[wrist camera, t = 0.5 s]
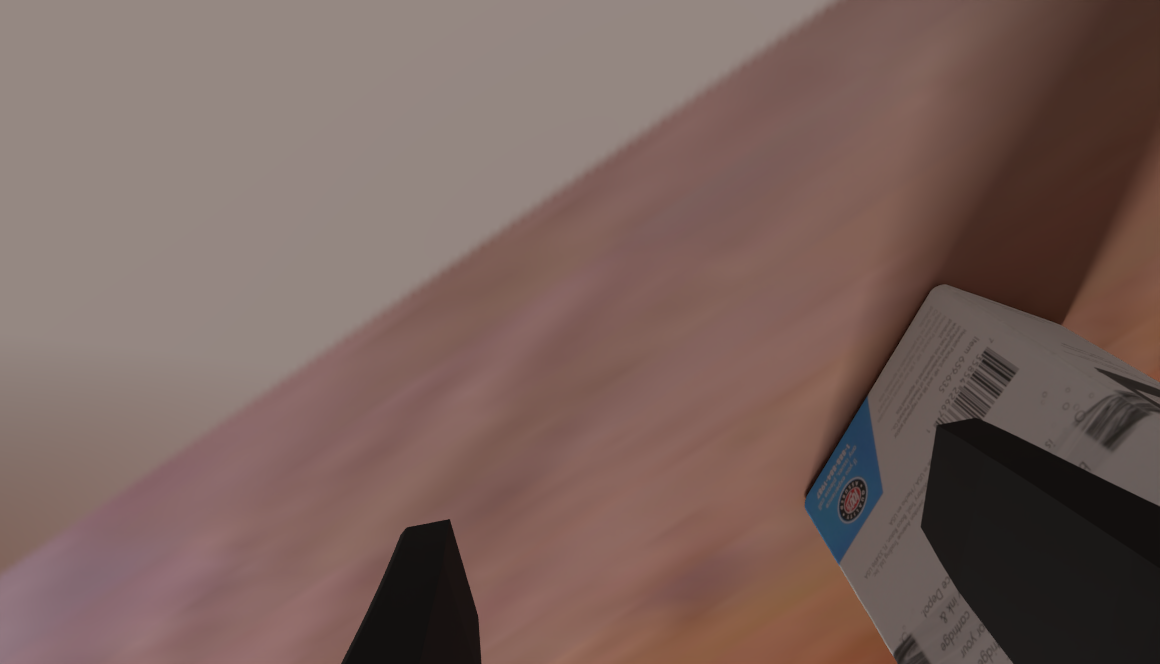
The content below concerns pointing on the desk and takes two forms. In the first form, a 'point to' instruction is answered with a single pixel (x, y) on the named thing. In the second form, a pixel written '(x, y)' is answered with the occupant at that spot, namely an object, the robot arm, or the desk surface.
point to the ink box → (953, 393)
